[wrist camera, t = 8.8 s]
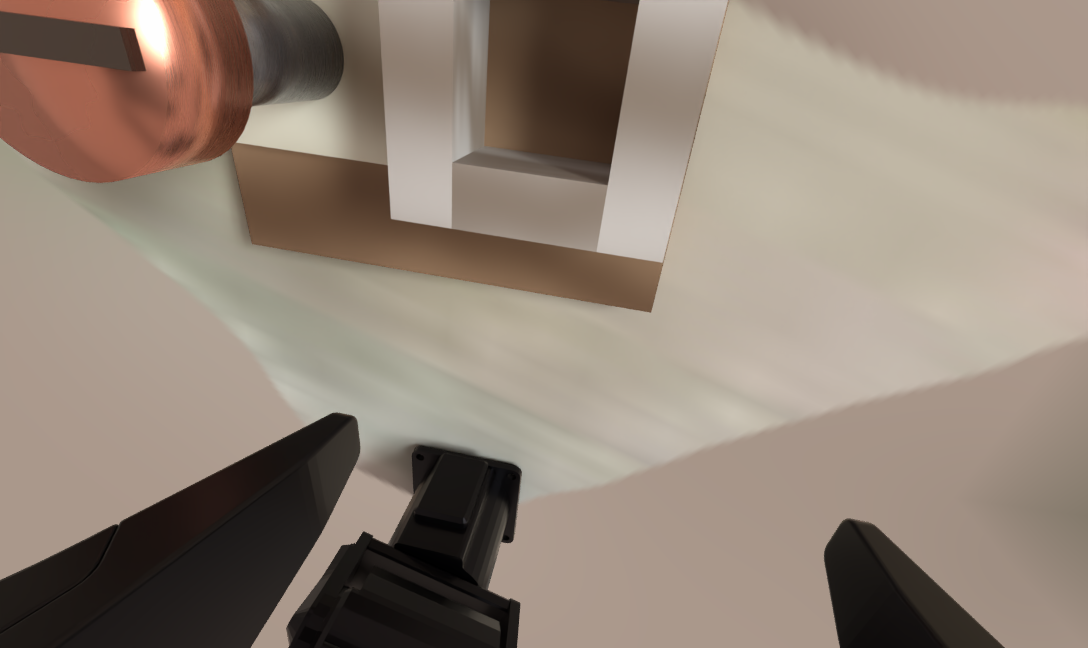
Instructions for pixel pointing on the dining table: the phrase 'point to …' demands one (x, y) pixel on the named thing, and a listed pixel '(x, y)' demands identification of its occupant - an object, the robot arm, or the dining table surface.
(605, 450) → the dining table surface
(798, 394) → the dining table surface
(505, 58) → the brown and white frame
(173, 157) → the copper knob
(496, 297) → the dining table surface
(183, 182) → the dining table surface
